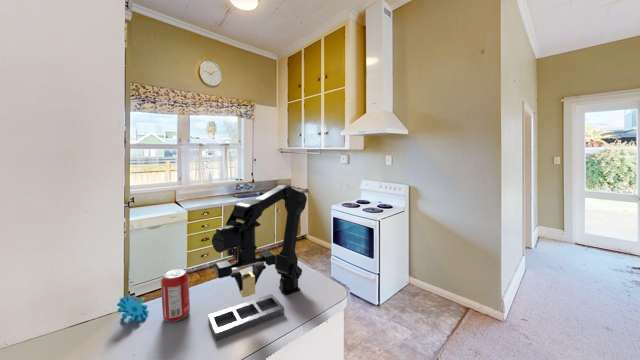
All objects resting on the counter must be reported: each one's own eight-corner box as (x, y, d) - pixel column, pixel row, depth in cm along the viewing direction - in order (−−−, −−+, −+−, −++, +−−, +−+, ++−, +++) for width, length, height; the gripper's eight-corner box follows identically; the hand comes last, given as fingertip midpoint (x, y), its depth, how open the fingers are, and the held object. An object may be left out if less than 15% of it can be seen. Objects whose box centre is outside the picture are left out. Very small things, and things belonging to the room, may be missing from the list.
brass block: (250, 288, 86) (250, 270, 85) (255, 293, 83) (254, 275, 82) (239, 291, 84) (238, 274, 83) (243, 297, 80) (242, 279, 80)
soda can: (171, 327, 79) (168, 281, 78) (158, 318, 83) (155, 274, 82) (194, 314, 86) (193, 271, 84) (182, 306, 90) (180, 265, 88)
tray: (271, 300, 94) (271, 293, 94) (284, 314, 86) (284, 307, 86) (208, 322, 82) (208, 314, 82) (216, 341, 74) (215, 333, 73)
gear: (138, 324, 78) (113, 302, 77) (123, 339, 77) (98, 317, 76) (156, 307, 89) (135, 288, 88) (143, 320, 88) (121, 301, 87)
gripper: (263, 230, 93) (264, 271, 95) (209, 240, 82) (211, 285, 84) (277, 239, 84) (277, 284, 86) (217, 251, 73) (219, 302, 75)
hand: (247, 288), depth 83 cm, fingers closed on brass block, 4 cm apart
